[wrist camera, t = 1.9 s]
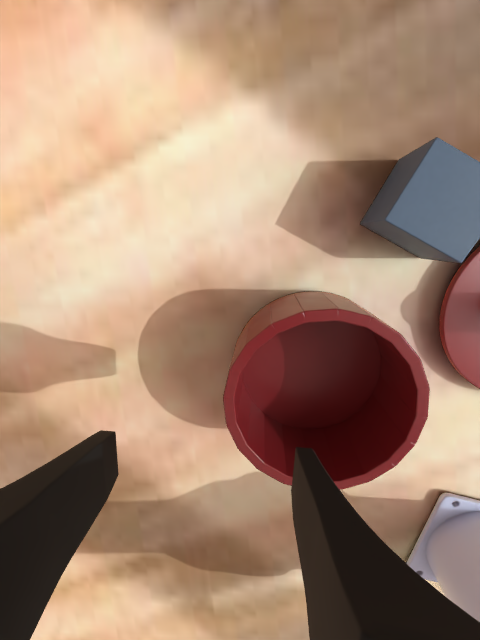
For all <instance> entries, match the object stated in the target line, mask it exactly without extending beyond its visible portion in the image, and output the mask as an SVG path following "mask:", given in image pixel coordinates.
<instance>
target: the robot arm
mask: <svg viewBox="0 0 480 640" xmlns="http://www.w3.org/2000/svg"><path fill="white" fill-rule="evenodd" d="M117 477H118V462H117V448H116V435H115V432H112V431H99V432H97V433H95V434H94V435H92V436H90V437H89V438H87V439H86V440H84V441H82V442H81V443H79V444H78V445H76V446H74V447H73V448H71V449H70V450H68V451H66V452H65V453H63V454H62V455H60V456H58V457H57V458H55V459H53V460H52V461H50V462H48V463H47V464H45V465H43V466H41V467H40V468H38V469H36V470H35V471H33V472H31V473H29V474H28V475H26V476H24V477H22V478H21V479H19V480H17V481H15V482H13V483H11V484H9V485H7V486H5V487H3V488H1V489H0V640H30V638H31V636H32V634H33V632H34V630H35V628H36V626H37V624H38V622H39V620H40V618H41V616H42V613H43V611H44V609H45V607H46V605H47V603H48V601H49V599H50V597H51V595H52V593H53V591H54V589H55V587H56V585H57V583H58V581H59V579H60V578H61V576H62V574H63V572H64V570H65V568H66V567H67V565H68V563H69V561H70V560H71V558H72V556H73V555H74V553H75V552H76V550H77V548H78V547H79V545H80V543H81V542H82V540H83V538H84V537H85V535H86V534H87V532H88V530H89V529H90V527H91V525H92V524H93V522H94V521H95V519H96V517H97V516H98V514H99V512H100V511H101V509H102V507H103V506H104V504H105V502H106V501H107V499H108V496H109V494H110V492H111V490H112V488H113V486H114V483H115V481H116V479H117ZM291 494H292V510H293V521H294V528H295V534H296V540H297V546H298V552H299V558H300V563H301V569H302V575H303V581H304V587H305V595H306V603H307V614H308V625H309V637H310V640H480V500H475V499H471V498H467V497H463V496H459V495H455V494H451V493H443V494H441V495H440V497H439V499H438V501H437V503H436V505H435V507H434V509H433V511H432V513H431V515H430V517H429V519H428V521H427V523H426V525H425V527H424V529H423V531H422V533H421V535H420V537H419V539H418V541H417V543H416V545H415V547H414V549H413V551H412V553H411V555H410V557H409V559H408V561H407V563H405V562H404V561H403V560H402V559H401V558H400V557H399V556H398V555H397V554H395V553H394V552H393V551H392V550H391V549H390V548H389V547H388V546H387V545H386V544H385V543H384V542H383V541H382V540H381V539H380V538H379V537H378V536H377V535H376V534H375V533H374V531H373V530H372V529H371V528H370V527H369V526H368V525H367V524H366V523H365V521H364V520H363V519H362V518H361V517H360V516H359V514H358V513H357V512H356V511H355V509H354V508H353V507H352V506H351V504H350V503H349V502H348V501H347V499H346V498H345V497H344V495H343V494H342V493H341V491H340V490H339V488H338V487H337V486H336V484H335V483H334V481H333V480H332V479H331V477H330V476H329V474H328V473H327V471H326V470H325V468H324V466H323V465H322V463H321V462H320V460H319V458H318V457H317V455H316V453H315V452H314V450H313V449H312V448H302V447H296V449H295V459H294V469H293V479H292V489H291ZM454 501H455V502H454ZM424 579H426V580H430V581H434V582H438V583H439V585H440V587H441V589H442V591H443V593H444V595H445V596H444V595H443V594H441V593H440V592H439V591H438V590H437V589H435V588H434V587H433V586H432V585H431V584H429V583H428V582H427V581H426V580H424Z"/></svg>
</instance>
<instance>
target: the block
mask: <svg viewBox="0 0 480 640" xmlns="http://www.w3.org/2000/svg"><path fill="white" fill-rule="evenodd" d="M360 224H361V225H362V226H364V227H366V228H368V229H369V230H371V231H373V232H375V233H377V234H378V235H380V236H382V237H384V238H385V239H387V240H389V241H391V242H393V243H394V244H396V245H398V246H400V247H401V248H403V249H405V250H407V251H409V252H410V253H412V254H414V255H416V256H417V257H419V258H422V259H431V260H439V261H447V262H456V263H462V262H463V260H464V259H465V258H466V256H467V255H468V253H469V252H470V251H471V249H472V248H473V247H474V245H475V244H476V242H477V241H478V240H479V238H480V162H478V161H477V160H475V159H473V158H472V157H470V156H468V155H466V154H465V153H463V152H461V151H460V150H458V149H456V148H455V147H453V146H451V145H449V144H448V143H446V142H444V141H443V140H441V139H439V138H437V137H436V138H434V139H433V140H431V141H429V142H428V143H426V144H424V145H423V146H421V147H419V148H418V149H416V150H414V151H412V152H411V153H409V154H407V155H406V156H404V157H402V158H401V159H399V160H398V162H397V163H396V165H395V167H394V168H393V170H392V172H391V173H390V175H389V176H388V178H387V180H386V181H385V183H384V185H383V186H382V188H381V190H380V191H379V193H378V195H377V196H376V198H375V199H374V201H373V203H372V204H371V206H370V208H369V209H368V211H367V213H366V214H365V216H364V218H363V219H362V221H361V222H360Z"/></svg>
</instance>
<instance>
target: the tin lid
mask: <svg viewBox="0 0 480 640" xmlns="http://www.w3.org/2000/svg"><path fill="white" fill-rule="evenodd" d="M439 328H440V338H441V342H442V346H443V349H444V351H445V354H446V356H447V358H448V359H449V361H450V363H451V364H452V366H453V367H454V368H455V369H456V371H457V372H458V373H459V374H460V375H461V376H462V377H464V378H465V379H466V380H467V381H469V382H470V383H472V384H473V385H475V386H476V387H478V388H479V389H480V246H479V247H478V248H477V249H476V250H475V251H474V252H473V253H472V254H471V255H470V256H469V257H468V258H467V259H466V260H465V261H464V263H463V264H462V265H461V266H460V268H459V269H458V271H457V272H456V274H455V275H454V277H453V278H452V280H451V282H450V284H449V286H448V288H447V290H446V293H445V296H444V299H443V302H442V306H441V311H440V321H439Z"/></svg>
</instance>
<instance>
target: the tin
mask: <svg viewBox="0 0 480 640" xmlns="http://www.w3.org/2000/svg"><path fill="white" fill-rule="evenodd" d="M429 391H430V389H429V384H428V381H427V378H426V375H425V371H424V368H423V365H422V362H421V360H420V357H419V356H418V355H417V354H416V352H415V351H414V350H413V349H412V347H411V346H410V345H409V344H408V342H407V341H406V340H405V338H404V337H403V336H402V335H401V334H400V333H399V332H397V331H396V330H394V329H393V328H391V327H390V326H388V325H387V324H386V323H384V322H383V321H381V320H380V319H378V318H377V317H375V316H374V315H373V314H371V313H370V312H368V311H367V310H365V309H364V308H362V307H360V306H359V305H357V304H355V303H354V302H352V301H351V300H349V299H347V298H345V297H342V296H338V295H335V294H332V293H326V292H318V291H307V292H298V293H294V294H289V295H286V296H284V297H281V298H278V299H276V300H274V301H273V302H271V303H269V304H267V305H266V306H265V307H263V308H262V309H260V310H259V311H258V312H257V313H256V314H255V315H254V316H253V317H252V318H251V319H250V320H249V322H248V323H247V324H246V326H245V327H244V329H243V330H242V332H241V335H240V336H239V338H238V340H237V343H236V347H235V351H234V354H233V358H232V362H231V366H230V369H229V374H228V378H227V382H226V386H225V391H224V395H223V401H224V410H225V419H226V424H227V427H228V429H229V431H230V433H231V435H232V438H233V440H234V442H235V444H236V446H237V448H238V449H239V451H240V452H241V453H242V454H243V455H244V456H245V457H246V458H247V459H248V460H249V461H250V462H251V463H252V464H253V465H254V466H255V467H256V468H257V469H258V470H260V471H262V472H263V473H265V474H267V475H269V476H270V477H272V478H274V479H276V480H278V481H279V482H281V483H283V484H287V485H291V486H292V479H293V469H294V459H295V449H296V447H302V448H312V449H313V450H314V452H315V453H316V455H317V457H318V458H319V460H320V462H321V463H322V465H323V466H324V468H325V470H326V471H327V473H328V474H329V476H330V477H331V479H332V480H333V481H334V483H335V484H336V486H337V487H338V488H339V490H340V489H345V488H349V487H353V486H356V485H360V484H363V483H367V482H369V481H372V480H373V479H375V478H377V477H378V476H380V475H382V474H383V473H385V472H387V471H388V470H390V469H392V468H393V467H395V466H396V465H397V464H398V463H399V462H400V461H401V460H402V459H403V458H404V456H405V455H406V454H407V453H408V452H409V451H410V450H411V449H412V448H413V447H414V446H415V444H416V442H417V440H418V438H419V436H420V433H421V431H422V429H423V427H424V424H425V422H426V420H427V417H428V405H429Z"/></svg>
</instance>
